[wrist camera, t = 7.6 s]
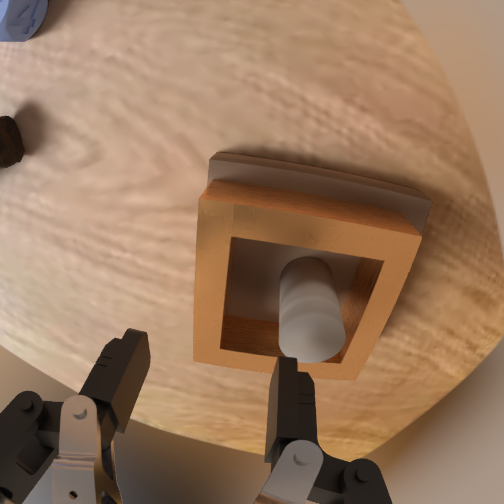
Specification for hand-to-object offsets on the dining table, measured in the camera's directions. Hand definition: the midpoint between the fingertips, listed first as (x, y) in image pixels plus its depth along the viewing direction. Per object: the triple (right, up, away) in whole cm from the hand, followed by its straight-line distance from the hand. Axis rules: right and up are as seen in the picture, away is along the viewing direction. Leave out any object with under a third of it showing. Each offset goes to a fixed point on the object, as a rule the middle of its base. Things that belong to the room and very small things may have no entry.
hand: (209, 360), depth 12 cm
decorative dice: (-14, +21, 0) cm, 25 cm away
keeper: (+5, +4, +8) cm, 10 cm away
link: (+4, +3, +6) cm, 8 cm away
